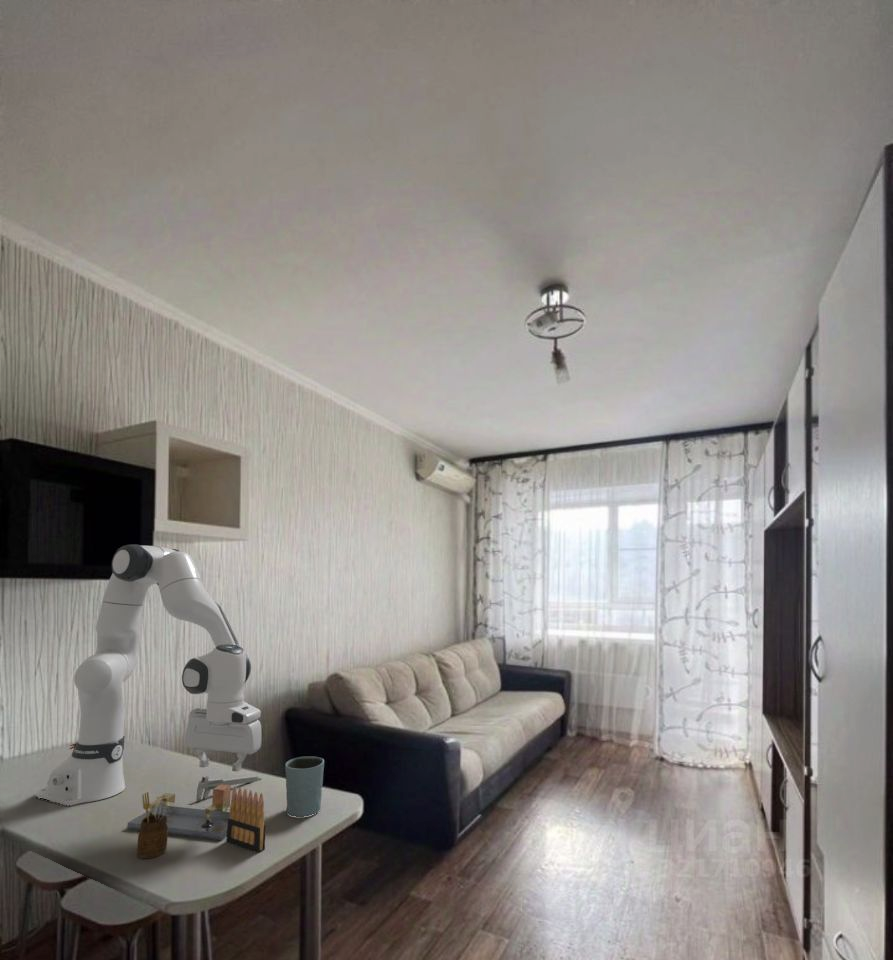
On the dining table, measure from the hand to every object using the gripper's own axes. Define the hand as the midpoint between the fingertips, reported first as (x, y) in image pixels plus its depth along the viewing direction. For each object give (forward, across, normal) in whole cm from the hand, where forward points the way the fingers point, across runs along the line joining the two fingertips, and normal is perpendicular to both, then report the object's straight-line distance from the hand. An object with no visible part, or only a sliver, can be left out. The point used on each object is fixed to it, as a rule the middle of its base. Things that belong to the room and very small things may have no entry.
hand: (220, 768), depth 140 cm
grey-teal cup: (+12, +18, +12) cm, 25 cm away
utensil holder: (+13, -5, -16) cm, 21 cm away
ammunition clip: (+13, +14, -8) cm, 20 cm away
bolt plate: (+13, -6, -2) cm, 15 cm away
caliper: (+13, -10, +20) cm, 26 cm away
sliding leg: (+11, +1, -1) cm, 11 cm away
